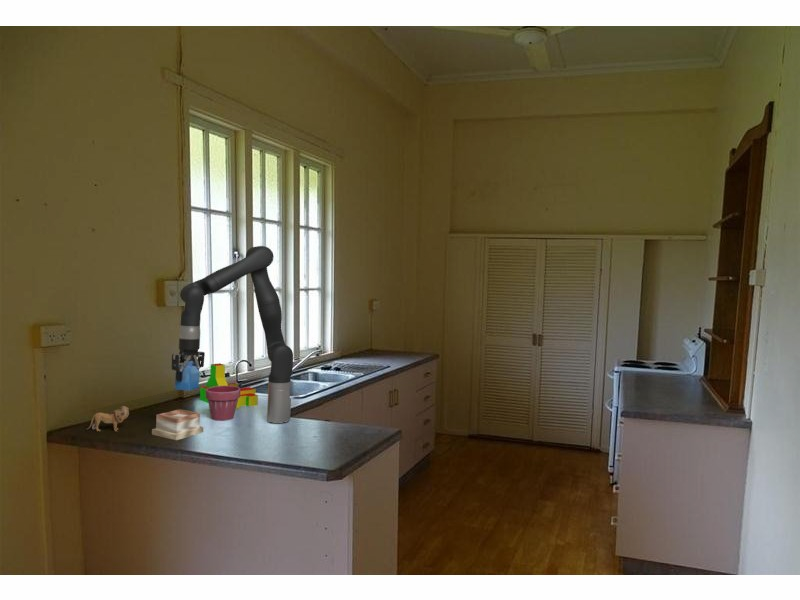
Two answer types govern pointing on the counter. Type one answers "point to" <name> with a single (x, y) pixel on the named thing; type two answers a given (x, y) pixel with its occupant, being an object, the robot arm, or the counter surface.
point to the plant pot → (222, 401)
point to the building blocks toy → (219, 380)
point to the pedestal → (177, 424)
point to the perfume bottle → (188, 378)
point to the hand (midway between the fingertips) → (187, 379)
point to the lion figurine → (110, 418)
